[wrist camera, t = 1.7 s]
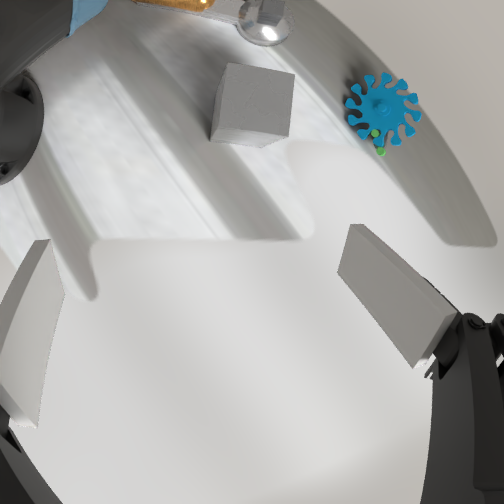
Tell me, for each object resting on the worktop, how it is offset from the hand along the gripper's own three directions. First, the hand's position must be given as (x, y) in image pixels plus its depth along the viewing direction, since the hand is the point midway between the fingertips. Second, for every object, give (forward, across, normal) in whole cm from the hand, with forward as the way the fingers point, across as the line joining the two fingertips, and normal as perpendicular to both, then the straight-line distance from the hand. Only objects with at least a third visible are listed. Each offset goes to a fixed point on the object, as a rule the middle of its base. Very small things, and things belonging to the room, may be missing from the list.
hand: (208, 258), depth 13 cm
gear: (+24, +24, +5) cm, 35 cm away
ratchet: (+30, +3, +18) cm, 35 cm away
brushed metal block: (+25, +7, +3) cm, 26 cm away
